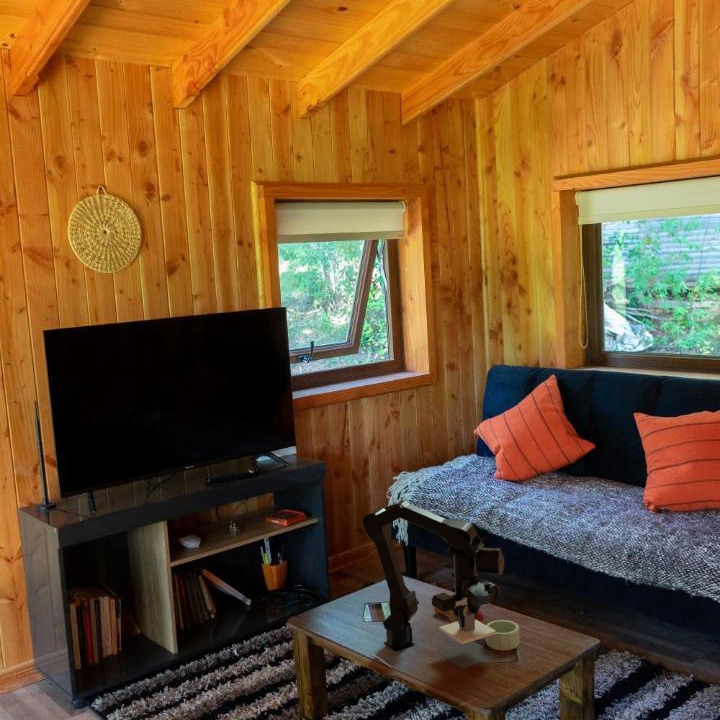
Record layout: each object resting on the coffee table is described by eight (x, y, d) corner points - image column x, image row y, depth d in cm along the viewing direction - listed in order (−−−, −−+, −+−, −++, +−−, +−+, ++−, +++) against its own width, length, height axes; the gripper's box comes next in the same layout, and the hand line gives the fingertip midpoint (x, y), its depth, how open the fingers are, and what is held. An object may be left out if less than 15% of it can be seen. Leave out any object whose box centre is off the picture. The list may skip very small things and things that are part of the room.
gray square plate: (462, 669, 238) (462, 668, 238) (437, 653, 248) (436, 651, 248) (499, 657, 243) (498, 656, 243) (472, 641, 254) (472, 640, 254)
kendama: (427, 622, 272) (471, 631, 258) (427, 600, 273) (470, 609, 259) (446, 619, 277) (489, 628, 263) (446, 597, 277) (489, 606, 263)
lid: (462, 644, 237) (461, 625, 237) (439, 629, 247) (438, 611, 246) (496, 633, 243) (495, 614, 242) (471, 619, 252) (471, 601, 251)
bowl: (500, 654, 245) (499, 636, 245) (480, 642, 253) (479, 625, 252) (526, 645, 250) (525, 628, 249) (505, 634, 257) (505, 617, 257)
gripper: (453, 587, 231) (455, 645, 233) (511, 571, 240) (513, 627, 242) (429, 574, 241) (431, 630, 243) (485, 559, 250) (487, 613, 252)
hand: (467, 625), depth 244 cm, fingers closed on lid, 3 cm apart
